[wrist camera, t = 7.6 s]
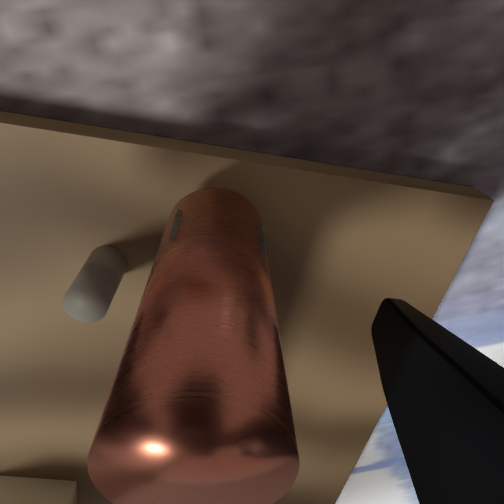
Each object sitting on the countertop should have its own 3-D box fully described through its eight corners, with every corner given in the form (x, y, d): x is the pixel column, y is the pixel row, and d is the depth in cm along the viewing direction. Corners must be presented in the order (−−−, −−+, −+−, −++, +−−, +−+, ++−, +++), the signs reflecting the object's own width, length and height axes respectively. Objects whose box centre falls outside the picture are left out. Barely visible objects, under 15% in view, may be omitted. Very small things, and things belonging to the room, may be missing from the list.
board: (312, 517, 24) (324, 588, 21) (6, 505, 21) (-31, 582, 18) (472, 187, 13) (546, 234, 10) (-108, 93, 11) (-242, 117, 8)
